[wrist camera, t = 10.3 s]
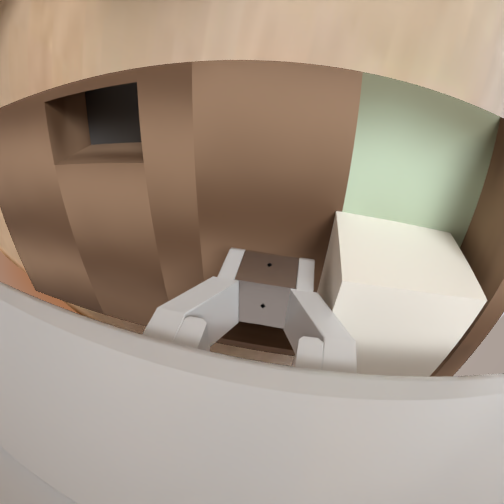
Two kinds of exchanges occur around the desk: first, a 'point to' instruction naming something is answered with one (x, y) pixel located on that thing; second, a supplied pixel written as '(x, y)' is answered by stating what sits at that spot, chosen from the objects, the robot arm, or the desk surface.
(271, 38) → the desk surface
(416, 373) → the block
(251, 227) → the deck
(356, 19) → the desk surface
